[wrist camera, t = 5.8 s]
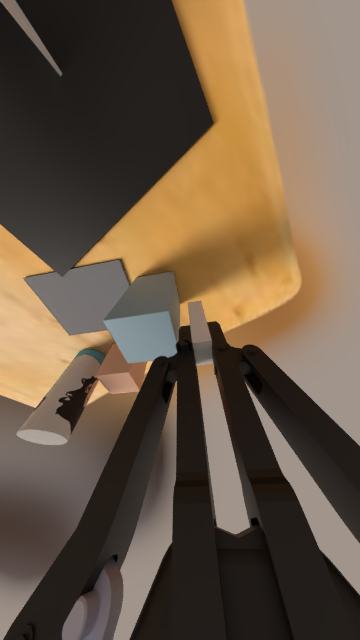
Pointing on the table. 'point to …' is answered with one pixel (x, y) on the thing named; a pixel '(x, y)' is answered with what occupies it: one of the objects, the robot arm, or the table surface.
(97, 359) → the white patterned canister
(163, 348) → the slate-blue block
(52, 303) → the charcoal mat
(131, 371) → the terracotta block
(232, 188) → the table surface
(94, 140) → the black-topped pedestal
